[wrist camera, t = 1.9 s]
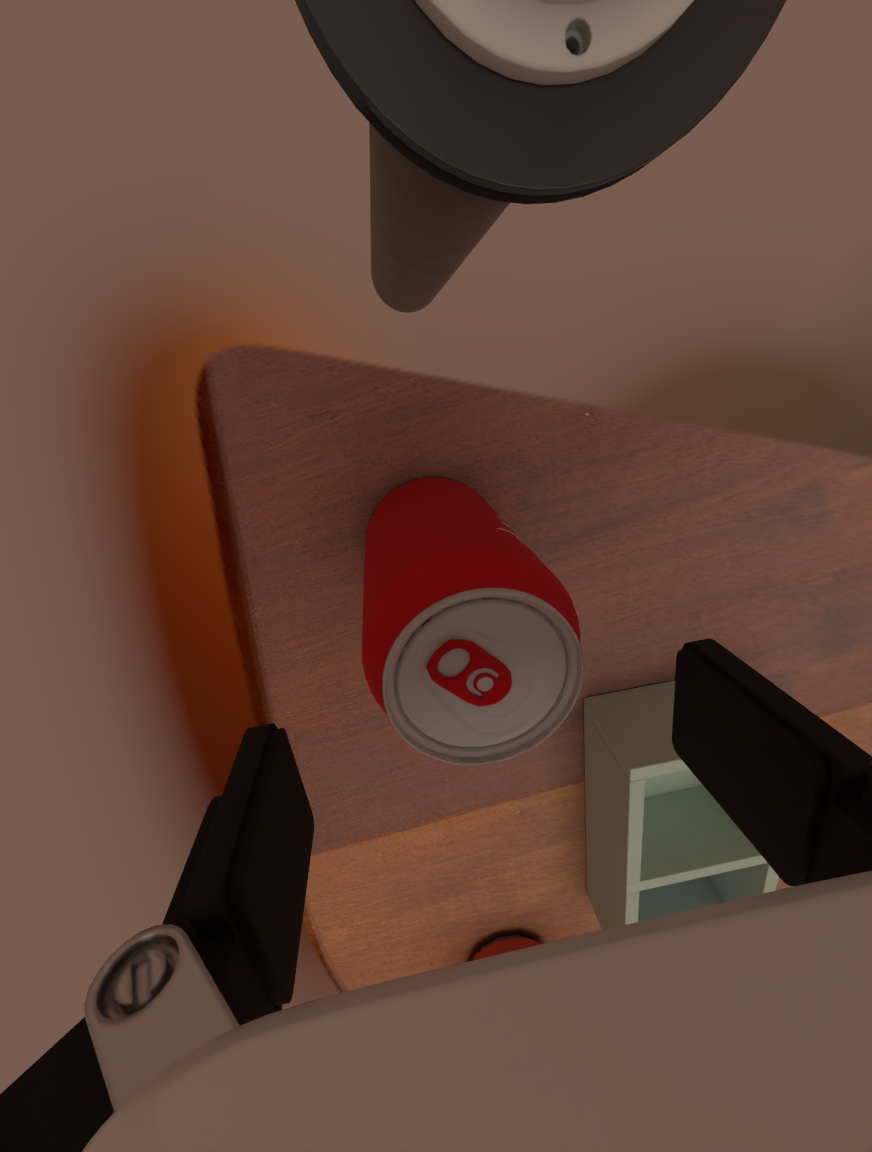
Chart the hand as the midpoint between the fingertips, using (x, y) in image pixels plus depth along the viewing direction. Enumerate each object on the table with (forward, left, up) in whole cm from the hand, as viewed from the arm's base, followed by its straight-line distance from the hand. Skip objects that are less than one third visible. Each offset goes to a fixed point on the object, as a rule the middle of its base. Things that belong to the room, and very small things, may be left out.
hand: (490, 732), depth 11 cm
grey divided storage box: (+20, +12, -13) cm, 26 cm away
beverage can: (0, 0, -13) cm, 13 cm away
